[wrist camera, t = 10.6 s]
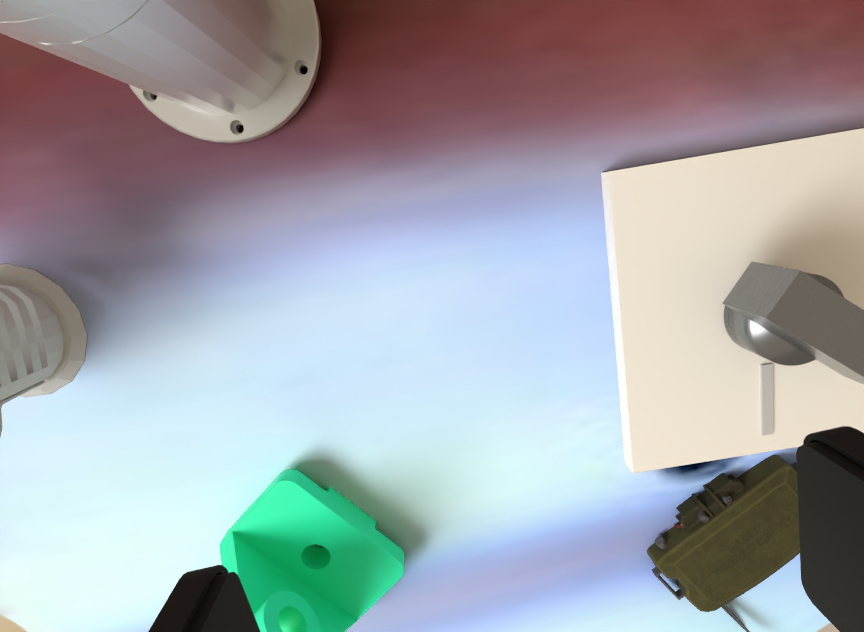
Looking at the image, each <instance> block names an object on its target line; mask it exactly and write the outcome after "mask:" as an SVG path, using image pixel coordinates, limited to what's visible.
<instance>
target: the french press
mask: <svg viewBox="0 0 864 632" xmlns="http://www.w3.org/2000/svg"><path fill="white" fill-rule="evenodd" d="M86 344H87V333H86V330H85V327H84V324H83V321H82V317H81V314H80V311H79V309H78V308H77V307H76V305H75V304H74V303H73V301H72V300H71V299H70V298H69V296H68V295H67V294H66V293H65V291H64V290H63V289H62V287H60V286H59V285H57V284H56V283H54V282H53V281H51V280H50V279H48V278H47V277H45V276H43V275H42V274H40V273H39V272H37V271H36V270H32V269H27V268H23V267H19V266H15V265H11V264H0V436H1V431H2V416H1V407H2V405H3V404H4V403H6V402H8V401H10V400H12V399H14V398H16V397H18V396H21V397H32V396H39V395H46V394H52V393H53V392H55V391H57V390H58V389H60V388H61V387H63V386H65V385H66V384H68V383H70V382H71V381H72V380H73V379H74V377H75V375H76V374H77V372H78V371H79V369H80V367H81V366H82V364H83V363H84V361H85V353H86Z"/></svg>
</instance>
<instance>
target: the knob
mask: <svg viewBox="0 0 864 632" xmlns="http://www.w3.org/2000/svg"><path fill="white" fill-rule="evenodd" d="M722 304H724V305H725V308H724V324H725V328H726V331H727V333H728V335H729V336H730V338H731V339H732V340H733V341H734V342H735V343H736V344H737V345H739V346H740V347H742V348H744V349H746V350H748V351H750V352H752V353H755V354H757V355H759V356H761V357H763V358H766V359H768V360H770V361H772V362H774V363H777V364H780V365H786V366H796V365H802V364H806V363H809V362H811V361H814V360H818V361H819V362H821V363H823V364H824V365H826V366H828V367H829V368H831V369H833V370H834V371H836V372H838V373H839V374H841V375H843V376H844V377H847V378H849V379H852V380H854V381H856V382H859V383H861V384H864V310H863V309H861V308H860V307H858V306H857V305H855V304H853V303H852V302H850V301H849V300H847V299H845V298H844V296H843V294H842V292H841V290H840V289H839V287H838V286H837V285H836V284H835V283H834V282H832V281H831V280H830V279H828V278H826V277H824V276H821V275H817V274H811V273H806V272H802V271H801V270H796V269H790V268H785V267H779V266H774V265H768V264H763V263H757V262H751V263H750V264H749V266H748V267H747V269H746V270H745V272H744V273H743V274H742V276H741V277H740V279H739V280H738V282H737V283H736V284H735V286H734V287H733V289H732V290H731V292H730V293H729V294H728V296H727V297H726V299H725V300H724V302H723V303H722Z"/></svg>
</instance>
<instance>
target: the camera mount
mask: <svg viewBox="0 0 864 632" xmlns="http://www.w3.org/2000/svg"><path fill="white" fill-rule="evenodd" d="M375 526H376V521H375V520H374V519H373V518H371V517H370V516H369V515H367V514H366V513H365V512H363V511H362V510H361V509H359V508H358V507H357V506H355V505H354V504H353V503H352V502H350V501H349V500H348V499H346V498H345V497H344V496H342V495H341V494H340V493H338V492H337V491H336V490H334V489H333V488H332V487H329V488H328V489H327V490H326V491H325V490H324V489H322V488H321V487H320V486H318V485H317V484H316V483H314V482H313V481H312V480H310V479H309V478H308V477H306V476H305V475H304V474H302V473H301V472H300V471H297V470H294V469H289V470H285V471H283V472H282V473H281V474H280V475H279V476H278V477H277V478H276V479H275V480H274V482H273V483H272V484H271V485H270V486H269V487H268V488H267V489H266V490H265V491H264V492H263V493H262V495H261V496H260V497H259V498H258V499H257V500H256V501H255V502H254V503H253V504H252V505H251V506H250V508H249V509H248V510H247V511H246V512H245V513H244V514H243V515H242V516H241V517H240V518H239V519H238V521H237V522H236V523H235V524H234V525H233V526H232V527H231V528H230V529H229V530H228V531H227V533H226V535H225V537H224V538H223V540H222V542H221V543H220V552H221V561H222V565H223V566H224V567H225V568H227V570H228V572H235V573H236V574H237V575H238V576H239V578H240V581H241V583H242V586H243V588H244V591H245V594H246V596H247V599H248V601H249V604H250V606H251V609H252V611H253V614H254V616H255V619H256V622H257V624H258V627H259V629H260V632H346V631H347V630H348V629H349V628H350V627H351V626H352V625H353V624H354V623H355V622H356V621H357V620H358V619H359V618H360V617H361V616H362V615H363V614H364V613H365V612H366V611H367V610H368V609H369V608H370V607H372V606H373V605H374V604H375V603H376V602H377V601H378V600H379V599H380V598H381V597H382V596H383V595H384V594H385V593H386V592H387V591H388V590H389V589H390V588H391V587H392V586H393V585H394V584H395V583H396V582H397V581H398V580H399V579H400V578H401V577H402V575H403V573H404V552H403V550H402V549H401V548H400V547H399V546H397V545H396V544H395V543H393V542H392V541H391V540H389V539H388V538H387V537H385V536H384V535H383V534H382V533H380V532H379V531H378V530H376V529H375ZM315 544H316V545H321V546H323V547H324V548H321V547H317V546H315Z"/></svg>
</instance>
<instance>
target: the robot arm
mask: <svg viewBox="0 0 864 632" xmlns="http://www.w3.org/2000/svg"><path fill="white" fill-rule="evenodd" d="M0 33H2V34H5V35H7V36H10V37H12V38H14V39H17V40H19V41H22V42H24V43H27V44H29V45H32V46H34V47H37V48H39V49H42V50H44V51H47V52H49V53H52V54H54V55H57V56H59V57H62V58H64V59H67V60H69V61H72V62H74V63H77V64H79V65H82V66H84V67H87V68H89V69H92V70H94V71H97V72H99V73H102V74H104V75H107V76H109V77H112V78H114V79H117V80H119V81H122V82H124V83H127V84H129V86H130V88H131V89H132V91H133V92H134V93H135V95H136V96H137V97H138V98H139V99H140V101H141V102H142V103H143V104H144V105H145V107H146V108H148V109H149V110H150V111H151V112H152V113H153V114H154V115H156V116H157V117H158V118H159V119H160V120H161V121H163V122H165V123H166V124H168V125H170V126H171V127H173V128H175V129H176V130H178V131H180V132H182V133H185V134H188V135H190V136H193V137H195V138H198V139H202V140H206V141H210V142H218V143H231V144H232V143H240V142H248V141H252V140H255V139H258V138H261V137H264V136H267V135H269V134H270V133H272V132H274V131H275V130H277V129H279V128H280V127H282V126H283V125H284V124H286V123H287V122H288V121H289V120H290V119H291V118H292V117H293V116H294V115H295V114H296V113H297V112H298V111H299V109H300V108H301V106H302V105H303V104H304V102H305V101H306V100H307V98H308V96H309V94H310V91H311V89H312V87H313V85H314V83H315V80H316V76H317V72H318V68H319V64H320V58H321V43H322V39H321V30H320V21H319V16H318V13H317V9H316V6H315V2H314V0H0ZM303 67H307V68H308V72H307V74H301V69H302V68H303ZM154 95H157V98H156V100H155V98H154ZM241 125H243V126H244V131H243V132H242V133H240V132H239V131H238V128H239V126H241ZM796 457H797V483H798V508H799V534H800V560H801V580H802V584H803V587H804V590H805V592H806V594H807V596H808V597H809V599H810V600H811V602H812V603H813V604H814V605H815V606H816V607H817V608H818V610H819V611H820V612H821V613H822V614H823V615H824V616H825V617H826V618H827V619H828V620H829V621H830V622H831V623H832V624H833V625H834V626H835V627H836V628H837V629H838V630H839V631H840V632H864V433H863V432H861V431H859V430H857V429H855V428H852V427H850V426H842V427H837V428H833V429H828V430H824V431H819V432H815V433H811V434H809V435H807V436H806V437H805V439H804V441H803V445H801V446H800V447H798V449H797V454H796ZM149 632H260V629H259V627H258V624H257V622H256V619H255V616H254V614H253V611H252V609H251V606H250V604H249V601H248V599H247V596H246V594H245V591H244V588H243V586H242V583H241V581H240V578H239V576H238V575H237V574H236V573H235V572H228V570H227V568H225V567H224V566H223V565H217V566H213V567H208V568H204V569H199V570H195V571H190V572H187V573H185V574H183V576H182V577H181V578H180V579H179V581H178V583H177V584H176V586H175V588H174V589H173V591H172V593H171V594H170V596H169V598H168V600H167V601H166V603H165V605H164V606H163V608H162V610H161V611H160V613H159V615H158V616H157V618H156V620H155V622H154V623H153V625H152V627H151V628H150V630H149Z"/></svg>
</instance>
